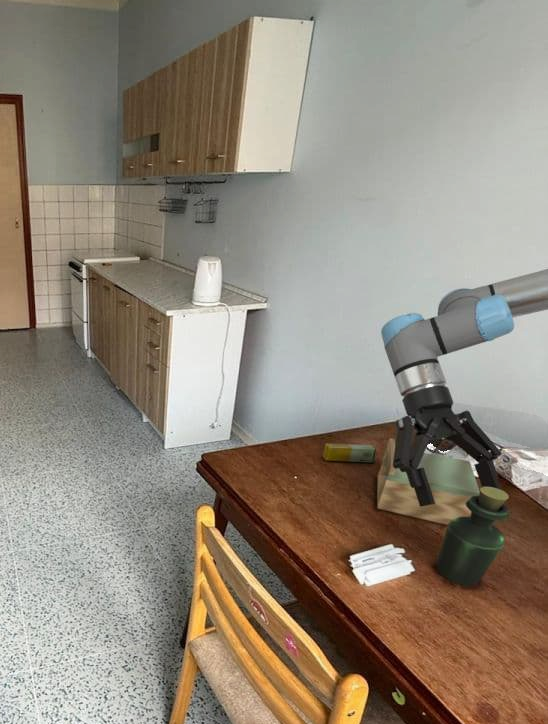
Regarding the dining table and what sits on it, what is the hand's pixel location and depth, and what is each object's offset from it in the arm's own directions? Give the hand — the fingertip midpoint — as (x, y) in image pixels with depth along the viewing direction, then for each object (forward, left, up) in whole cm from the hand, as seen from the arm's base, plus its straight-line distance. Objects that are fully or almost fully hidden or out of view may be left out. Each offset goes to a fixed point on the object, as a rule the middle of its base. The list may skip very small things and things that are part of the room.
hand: (461, 501), depth 84 cm
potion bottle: (-3, +4, -13) cm, 14 cm away
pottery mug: (-6, -49, -13) cm, 51 cm away
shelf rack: (+2, -19, -13) cm, 24 cm away
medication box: (+17, -33, -13) cm, 39 cm away
